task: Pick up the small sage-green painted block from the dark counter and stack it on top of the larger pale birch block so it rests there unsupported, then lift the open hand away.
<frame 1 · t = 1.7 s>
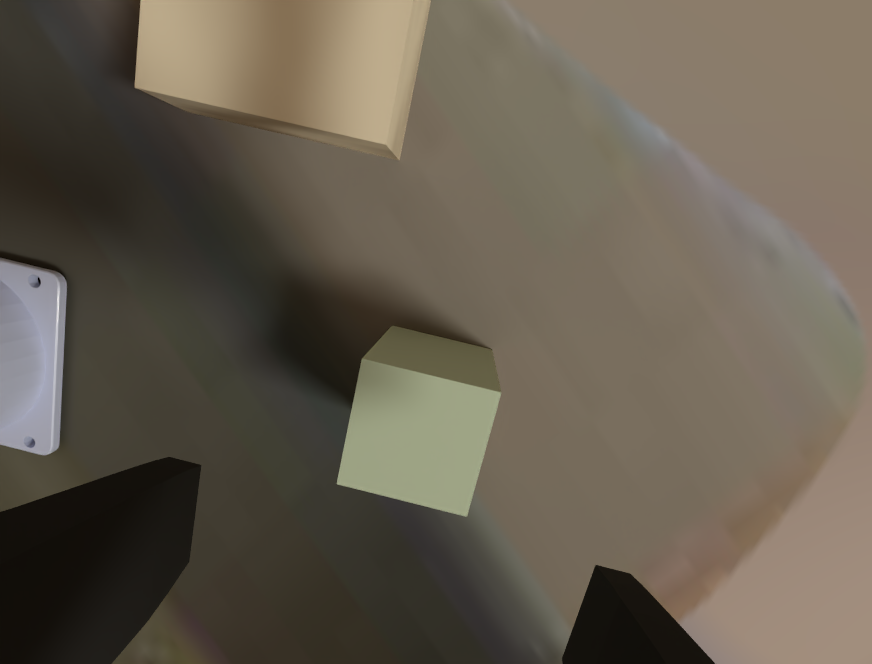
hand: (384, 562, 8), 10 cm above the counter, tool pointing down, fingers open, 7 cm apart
sage block: (430, 384, 17), on the counter
birch base: (314, 20, 15), on the counter
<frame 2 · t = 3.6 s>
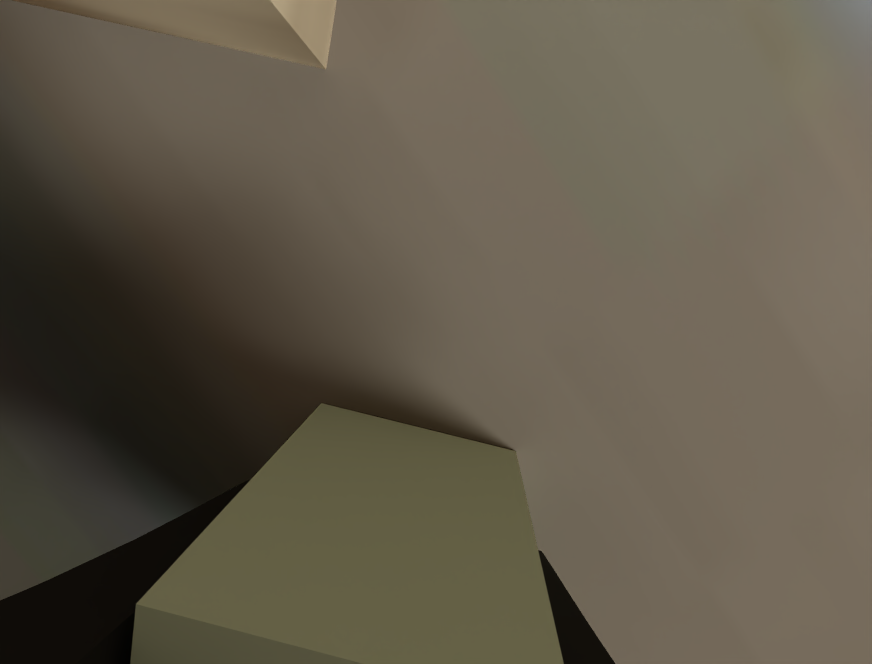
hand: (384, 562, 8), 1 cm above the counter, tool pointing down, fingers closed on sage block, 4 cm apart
sage block: (397, 513, 9), on the counter, touching gripper
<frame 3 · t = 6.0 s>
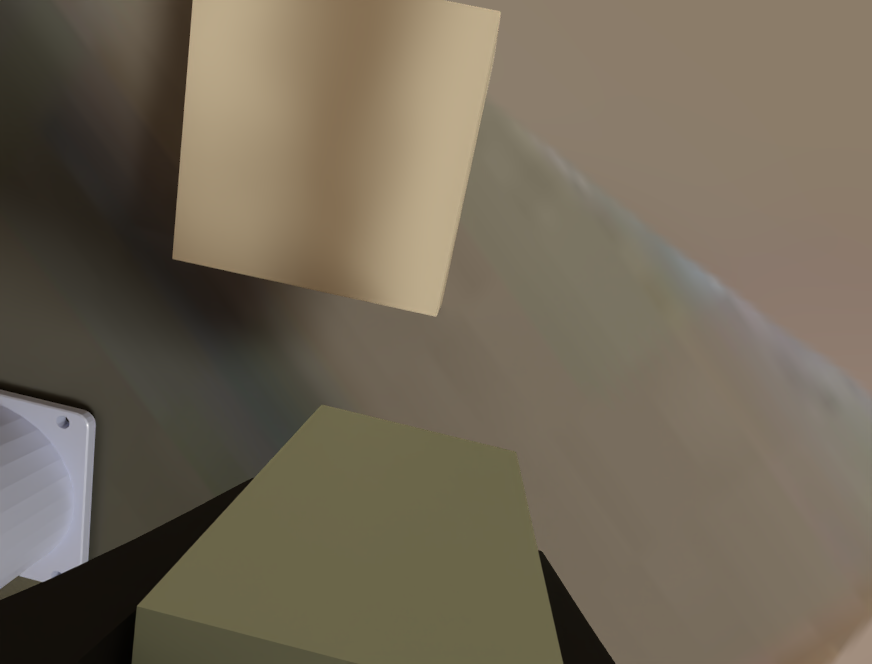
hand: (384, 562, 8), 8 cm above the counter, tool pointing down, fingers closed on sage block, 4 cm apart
sage block: (398, 514, 9), point 7 cm above the counter, touching gripper
birch base: (352, 164, 15), on the counter
when the fingers open (5 cm above the counter, at t = 8.3 s): sage block drops 1 cm, point 3 cm above the counter.
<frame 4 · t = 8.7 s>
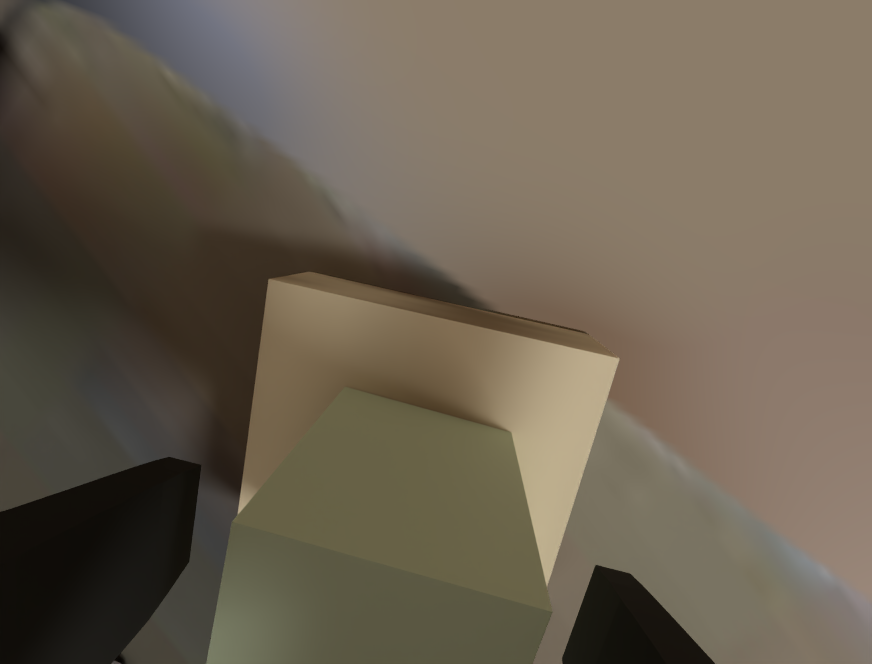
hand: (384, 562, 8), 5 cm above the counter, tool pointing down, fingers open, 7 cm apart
sage block: (407, 484, 11), point 3 cm above the counter
birch base: (420, 426, 13), on the counter
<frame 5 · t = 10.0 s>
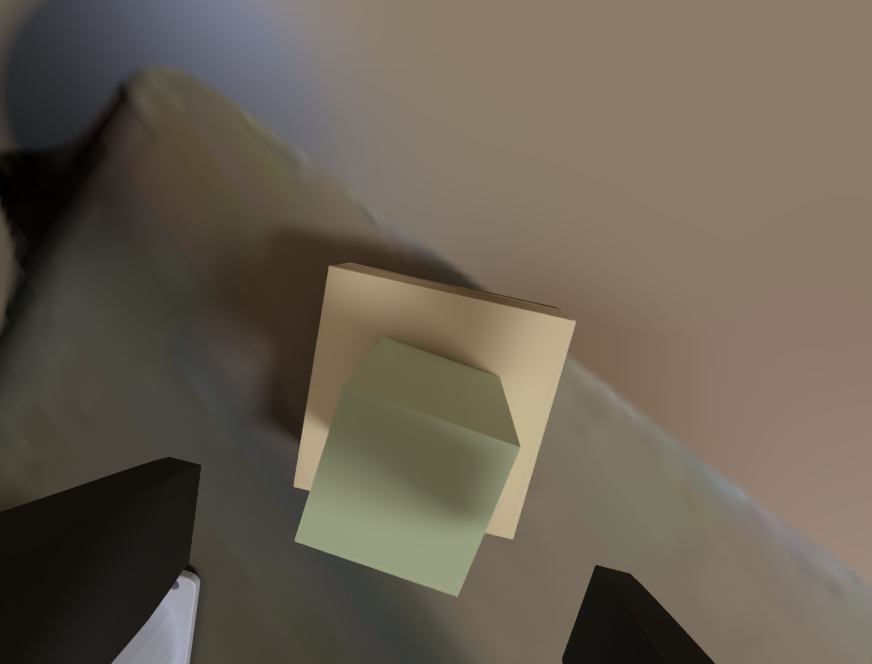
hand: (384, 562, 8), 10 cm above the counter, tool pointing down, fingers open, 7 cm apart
sage block: (422, 411, 15), point 3 cm above the counter
birch base: (432, 381, 18), on the counter
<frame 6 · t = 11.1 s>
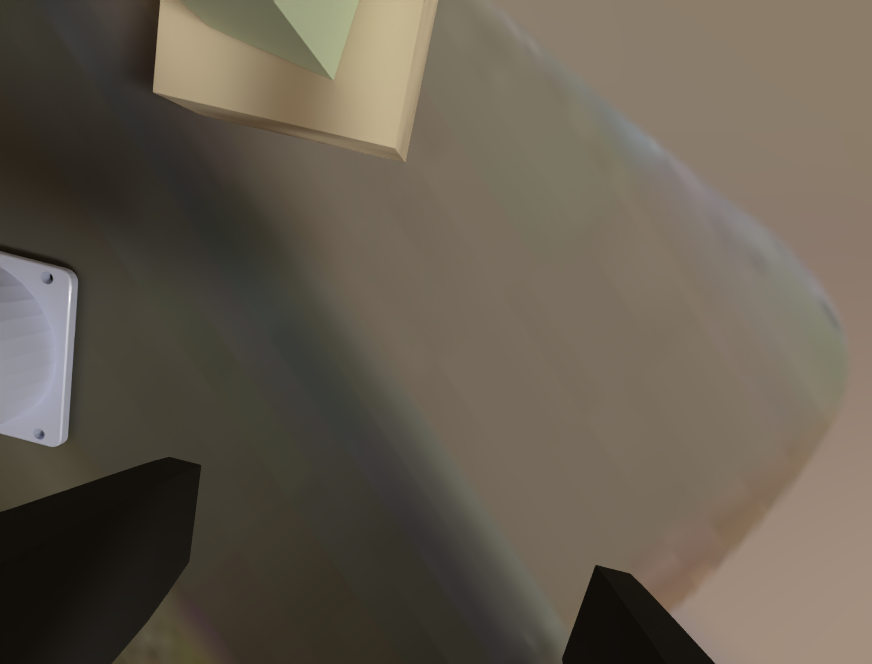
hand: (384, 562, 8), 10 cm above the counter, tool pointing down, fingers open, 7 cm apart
birch base: (324, 27, 16), on the counter
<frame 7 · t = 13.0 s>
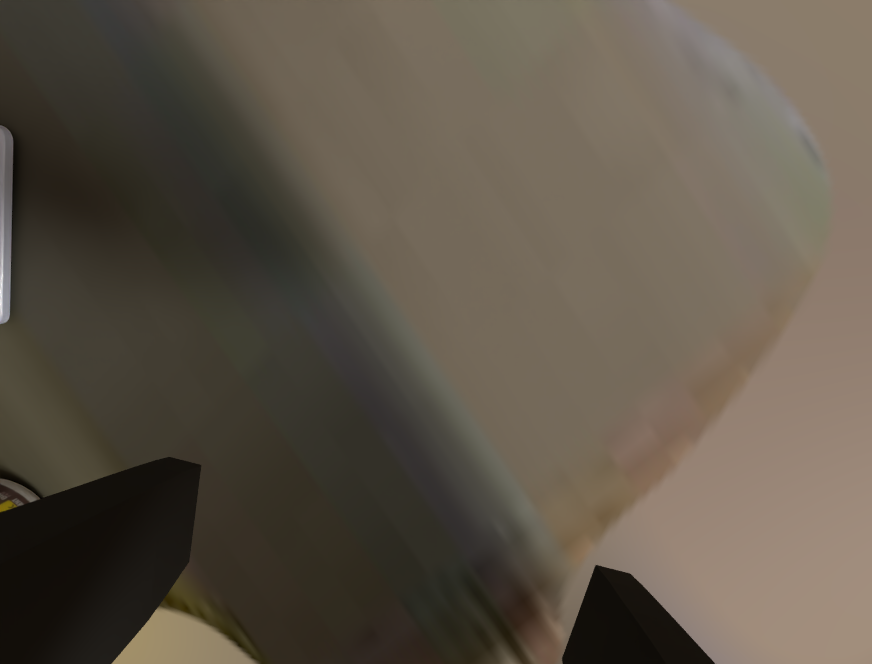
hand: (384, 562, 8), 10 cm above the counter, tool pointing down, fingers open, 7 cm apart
supplement bottle: (15, 521, 21), on the counter
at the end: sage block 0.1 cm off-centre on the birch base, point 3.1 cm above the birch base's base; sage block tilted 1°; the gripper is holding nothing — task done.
